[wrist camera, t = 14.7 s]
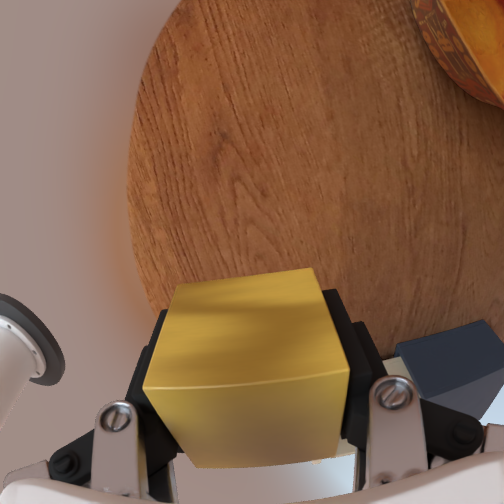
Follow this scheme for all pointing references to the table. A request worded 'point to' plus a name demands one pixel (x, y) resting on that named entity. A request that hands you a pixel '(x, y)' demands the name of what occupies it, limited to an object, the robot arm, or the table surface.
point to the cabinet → (457, 367)
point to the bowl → (466, 43)
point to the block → (250, 371)
